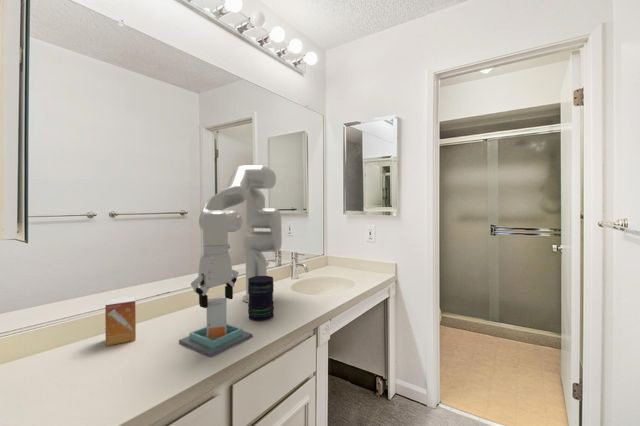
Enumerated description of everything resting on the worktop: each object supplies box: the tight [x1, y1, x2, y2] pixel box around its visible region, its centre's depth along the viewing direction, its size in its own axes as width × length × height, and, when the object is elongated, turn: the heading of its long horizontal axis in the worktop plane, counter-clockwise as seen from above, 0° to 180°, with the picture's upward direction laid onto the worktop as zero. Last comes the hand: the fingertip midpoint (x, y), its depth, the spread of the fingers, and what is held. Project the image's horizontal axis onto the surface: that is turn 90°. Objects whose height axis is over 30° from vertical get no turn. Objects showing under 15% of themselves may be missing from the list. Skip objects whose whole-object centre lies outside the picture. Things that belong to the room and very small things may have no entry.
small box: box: [104, 295, 137, 347], centre depth 97 cm, size 8×6×13 cm
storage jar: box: [247, 275, 275, 322], centre depth 117 cm, size 10×10×15 cm
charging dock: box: [178, 322, 253, 358], centre depth 97 cm, size 16×16×3 cm
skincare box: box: [206, 297, 228, 339], centre depth 97 cm, size 6×4×12 cm
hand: (216, 302), depth 97 cm, fingers open, 9 cm apart
